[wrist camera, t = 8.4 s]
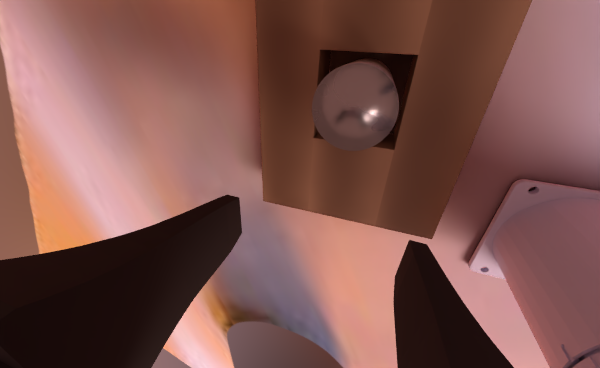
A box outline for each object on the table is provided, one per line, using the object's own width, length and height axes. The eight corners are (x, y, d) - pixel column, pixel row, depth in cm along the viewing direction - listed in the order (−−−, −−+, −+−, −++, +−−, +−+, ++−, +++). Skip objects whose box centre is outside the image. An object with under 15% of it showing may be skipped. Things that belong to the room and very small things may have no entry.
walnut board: (541, -92, 10) (589, -138, 8) (426, 213, 18) (431, 239, 16) (277, -72, 13) (251, -100, 11) (278, 182, 21) (263, 200, 19)
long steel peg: (401, 63, 14) (413, 72, 8) (383, 119, 16) (382, 159, 10) (345, 53, 15) (320, 55, 9) (333, 108, 17) (306, 140, 11)
